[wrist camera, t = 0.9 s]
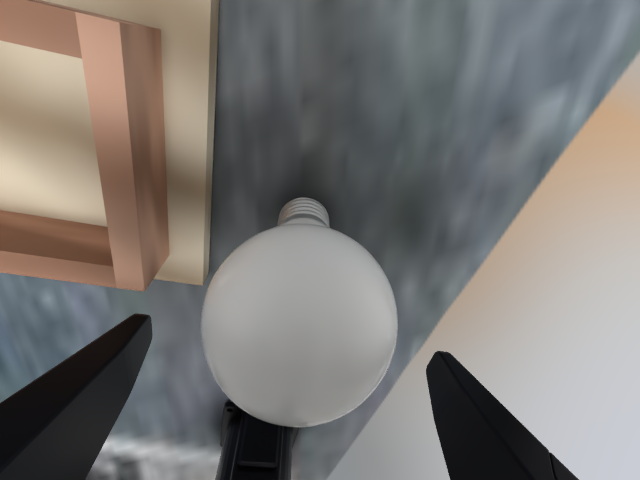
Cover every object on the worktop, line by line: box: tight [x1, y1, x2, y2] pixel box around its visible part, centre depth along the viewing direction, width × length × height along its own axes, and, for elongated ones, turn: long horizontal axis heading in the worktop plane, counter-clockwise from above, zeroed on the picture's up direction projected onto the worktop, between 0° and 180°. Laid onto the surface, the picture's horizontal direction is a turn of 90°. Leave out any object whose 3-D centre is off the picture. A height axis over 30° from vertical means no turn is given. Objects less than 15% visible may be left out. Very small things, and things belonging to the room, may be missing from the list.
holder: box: [0, 0, 219, 291], centre depth 13 cm, size 14×14×4 cm
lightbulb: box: [201, 197, 398, 427], centre depth 13 cm, size 6×6×11 cm
